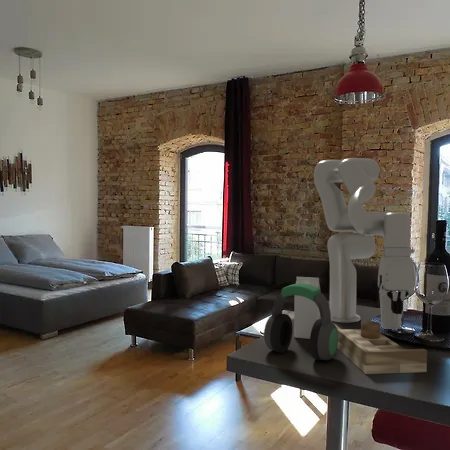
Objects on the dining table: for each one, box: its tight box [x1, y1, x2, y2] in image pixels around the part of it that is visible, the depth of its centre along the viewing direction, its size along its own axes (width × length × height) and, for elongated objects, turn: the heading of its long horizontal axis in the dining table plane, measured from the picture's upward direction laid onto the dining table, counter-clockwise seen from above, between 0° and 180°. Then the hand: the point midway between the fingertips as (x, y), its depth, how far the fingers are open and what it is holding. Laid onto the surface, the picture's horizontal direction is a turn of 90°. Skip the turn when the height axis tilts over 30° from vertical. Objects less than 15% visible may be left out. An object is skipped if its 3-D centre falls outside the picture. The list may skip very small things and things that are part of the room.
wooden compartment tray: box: [336, 325, 428, 375], centre depth 130 cm, size 32×16×6 cm, turn 5°
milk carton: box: [293, 276, 321, 340], centre depth 146 cm, size 7×7×19 cm
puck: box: [360, 320, 381, 339], centre depth 138 cm, size 6×6×4 cm
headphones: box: [263, 283, 338, 361], centre depth 127 cm, size 19×11×20 cm, turn 58°
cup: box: [378, 293, 405, 330], centre depth 155 cm, size 8×8×12 cm
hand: (396, 313), depth 138 cm, fingers closed
